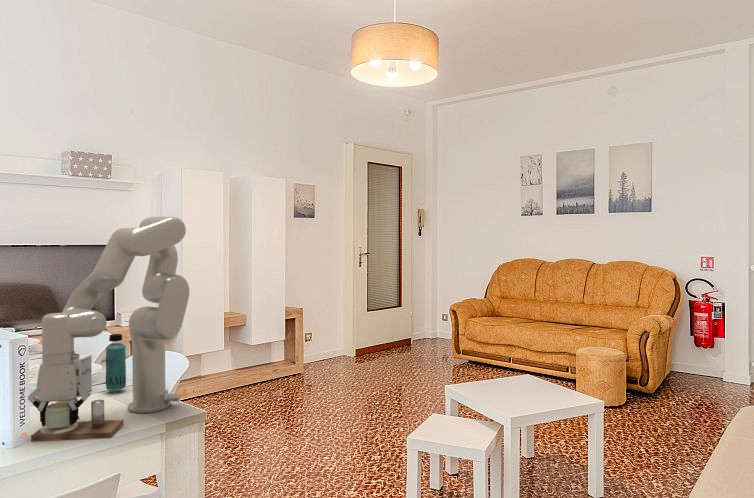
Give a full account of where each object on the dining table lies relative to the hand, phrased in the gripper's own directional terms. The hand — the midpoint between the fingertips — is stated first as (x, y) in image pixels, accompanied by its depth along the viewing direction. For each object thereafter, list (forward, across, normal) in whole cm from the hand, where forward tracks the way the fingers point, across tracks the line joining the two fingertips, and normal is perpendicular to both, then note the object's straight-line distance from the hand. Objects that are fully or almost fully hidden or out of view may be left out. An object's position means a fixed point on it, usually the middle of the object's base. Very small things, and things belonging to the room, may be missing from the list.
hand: (59, 423), depth 152 cm
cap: (0, 0, 0) cm, 0 cm away
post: (+1, -10, 0) cm, 10 cm away
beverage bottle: (+3, -2, -40) cm, 40 cm away
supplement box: (+3, +11, -40) cm, 42 cm away
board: (+3, -5, 0) cm, 6 cm away
